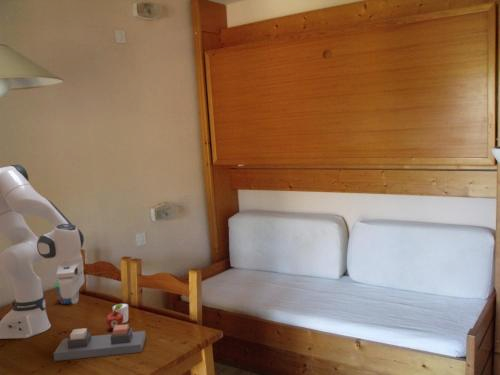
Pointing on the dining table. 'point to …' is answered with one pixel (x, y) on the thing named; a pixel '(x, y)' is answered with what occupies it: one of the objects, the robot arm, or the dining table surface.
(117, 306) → the apple
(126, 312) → the white short cylinder
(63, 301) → the snack cup
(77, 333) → the key ivory
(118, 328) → the key brick
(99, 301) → the dining table surface
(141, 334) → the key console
